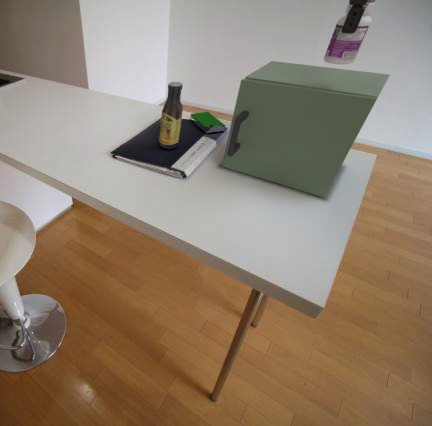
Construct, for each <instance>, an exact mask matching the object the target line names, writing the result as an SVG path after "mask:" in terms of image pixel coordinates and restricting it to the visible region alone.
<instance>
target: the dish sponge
mask: <svg viewBox="0 0 432 426" xmlns="http://www.w3.org/2000/svg"><path fill="white" fill-rule="evenodd" d="M190 117H191V118H192V119H194V120H196V121H198V122H200V123H201V124H202V125H204V126H205V127H208V128H209V127H210V125H218V126H222V127H225V128H226V124H225V123H224V122H222V121H221V120H219V119H218V118H217V117H215V115H214V114H212V113H210V112H209V111H203V112H202V111H201V112H194V113H190ZM190 117H189V120H190V121H191V120H192V119H191V118H190Z"/></svg>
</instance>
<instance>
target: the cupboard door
mask: <svg viewBox="0 0 432 426" xmlns="http://www.w3.org/2000/svg"><path fill="white" fill-rule="evenodd" d="M377 100H378V98H375V97H368V96H361V95H354V94H347V93H339V92H332V91H325V90H318V89H311V88H304V87H296V86H289V85H282V84H275V83H268V82H261V81H254V80H246V79H245V78H242V79H241V80H240V83H239V88H238V93H237V96H236V100H235V104H234V105H235V106H234V109H233V114H232V119H231V122H230V127H229V132H228V136H227V140H226V145H225V149H224V154H223V158H222V161H221V162H222V163H221V167H223V168H225V169H228V170H232V171H236V172H239V173H241V174H246V175H248V176H252V177H254V178H258V179H262V180H265V181H269V182H272V183H274V184H278V185H280V186H285V187H288V188H290V189H291V188H292V189H293V190H297V191H301V192H305V193H308V194H311V195H314V196H318V197H321V198H325V197H326V195H327V193H328V191H329V189H330V187H331V186H332V184H333V182H334V180H335V178H336V176H337V175H336V174H338V173H339V171H340V169H341V167H342V165H343V164H344V162H345V160H346V158H347V156H348V155H349V152H350V151H351V149H350V148H352V147H353V145H354V143H355V141H356V139H357V137H358V135H359V134H358V133H360V132H361V130H362V128H363V126H364V124H365V123H366V121H365V120H367V119H368V117H369V115H370V113H371V111H372V109H373V108H374V106H375V104H376V102H377ZM374 103H375V104H374ZM373 105H374V106H373ZM372 107H373V108H372ZM366 118H367V119H366ZM359 131H360V132H359ZM351 146H352V147H351ZM344 159H345V160H344ZM343 161H344V162H343ZM337 172H338V173H337Z"/></svg>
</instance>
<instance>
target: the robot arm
mask: <svg viewBox="0 0 432 426" xmlns="http://www.w3.org/2000/svg"><path fill="white" fill-rule="evenodd" d="M375 2H376V0H349V1H348V4H349V6H350V7H349V8H351V9H350V10H349V13H348V15H347V18H346V20H345V23H344V25H343V28H342V33H354V32H355V31H356V30H357V28H358V25H359V23H360V21H361V18H362V16H363V14H364V11H365V9H363V8H366V7H367V6H368V5H369V3H375Z"/></svg>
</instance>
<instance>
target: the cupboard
mask: <svg viewBox="0 0 432 426" xmlns="http://www.w3.org/2000/svg"><path fill="white" fill-rule="evenodd" d="M390 76H391V74H388V73H379V72H371V71H362V70H354V69H345V68H337V67H329V66H328V67H327V66H318V65H310V64H301V63H294V62H293V63H292V62H283V61H274V60H271V61H270V62H268V63H266V64H265V65H263V66H261V67H260V68H258V69H256V70H255V71H253V72H251V73H249V74H247V75H245V77H244V79H246V80H254V81H261V82H268V83H275V84H282V85H289V86H296V87H304V88H311V89H318V90H325V91H332V92H339V93H347V94H354V95H361V96H368V97H375V98H377V99H379V96H380V95H381V93H382V91H383V89H384V87H385V85H386V83H387V81H388V80H389V78H390ZM375 104H376V102H375V103H374V105H373V107H372V109H373V108H374V106H375ZM367 119H368V117H367V118H366V120H367ZM366 120H365V122H366ZM360 132H361V130H360V131H359V133H360ZM359 133H358V135H360V134H359ZM352 147H353V145H352V146H351V148H352ZM351 148H350V150H351ZM345 160H346V158H345V159H344V161H343V163H344V162H345ZM338 173H339V171H338V172H337V174H338ZM337 174H336V176H337Z"/></svg>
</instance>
